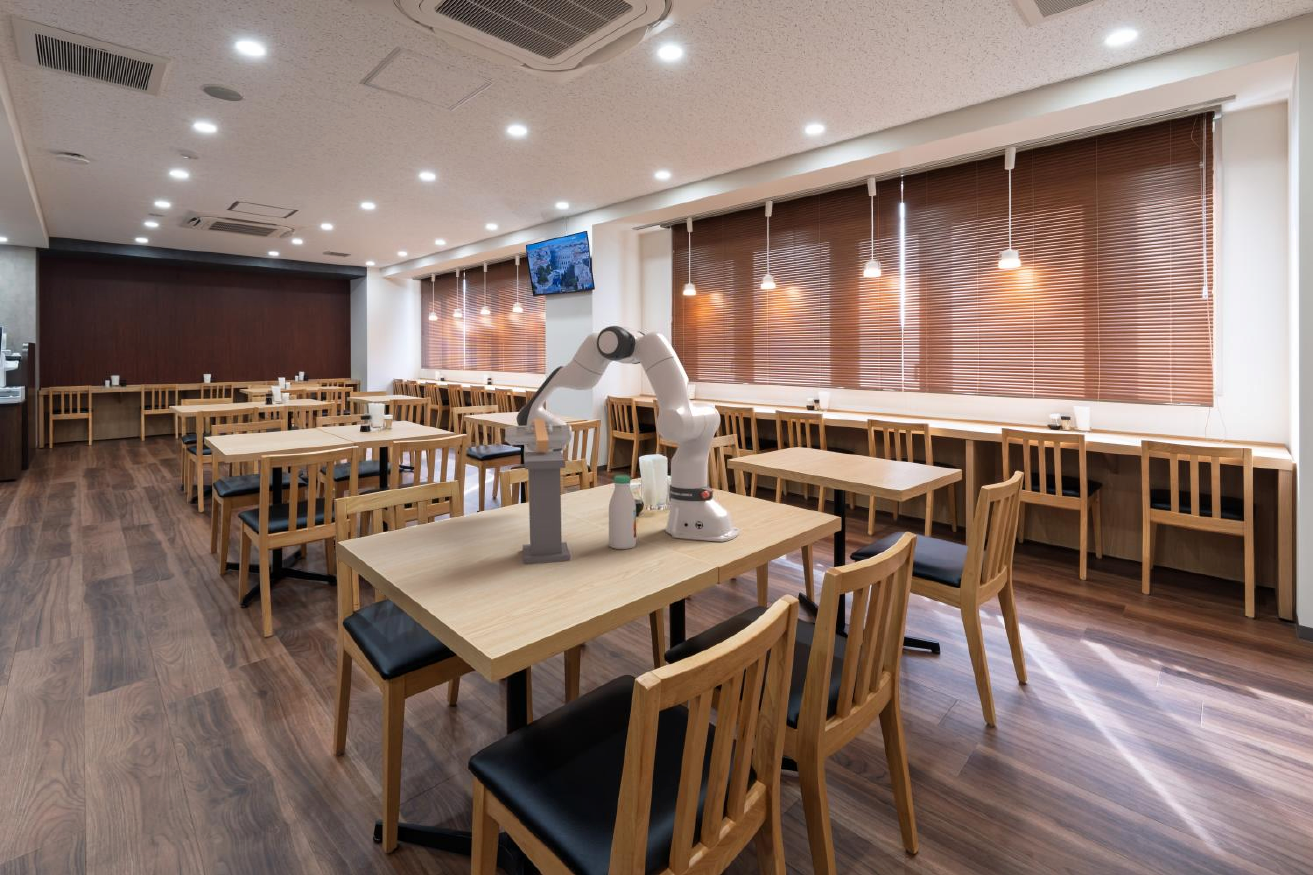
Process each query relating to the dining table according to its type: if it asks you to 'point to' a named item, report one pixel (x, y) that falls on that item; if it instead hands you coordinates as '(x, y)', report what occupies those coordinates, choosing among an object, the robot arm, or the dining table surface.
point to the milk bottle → (622, 515)
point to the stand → (545, 508)
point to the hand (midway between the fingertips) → (539, 424)
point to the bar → (541, 435)
